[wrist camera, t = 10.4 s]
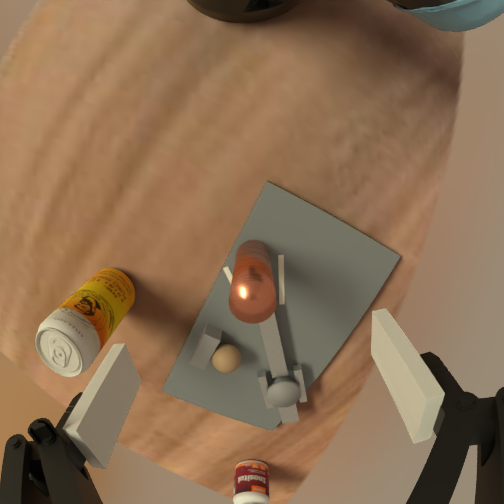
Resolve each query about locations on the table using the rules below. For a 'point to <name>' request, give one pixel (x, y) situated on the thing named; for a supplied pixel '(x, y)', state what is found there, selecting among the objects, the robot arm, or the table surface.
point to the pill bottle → (251, 483)
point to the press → (281, 310)
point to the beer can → (84, 322)
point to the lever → (262, 315)
